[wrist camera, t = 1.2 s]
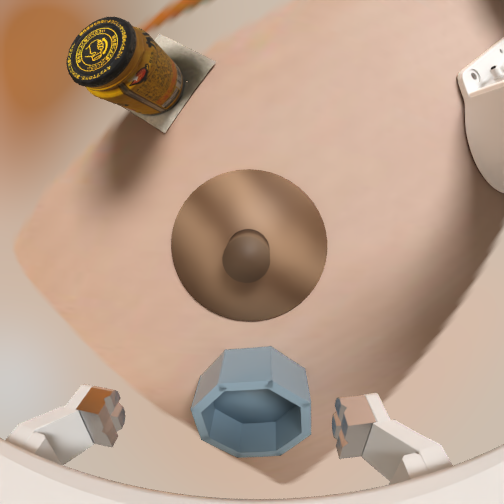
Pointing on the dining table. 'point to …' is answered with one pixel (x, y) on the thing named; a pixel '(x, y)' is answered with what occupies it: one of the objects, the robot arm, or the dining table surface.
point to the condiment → (136, 69)
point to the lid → (249, 245)
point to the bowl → (253, 403)
